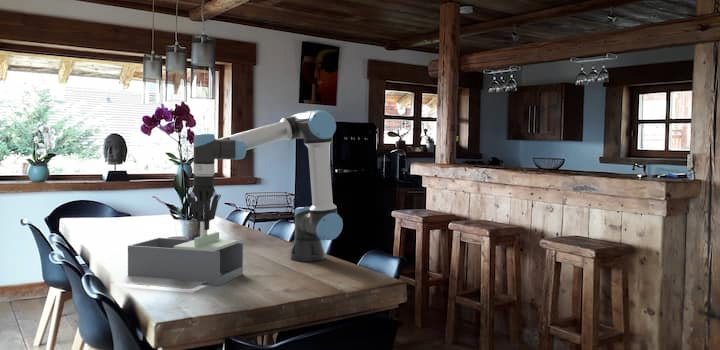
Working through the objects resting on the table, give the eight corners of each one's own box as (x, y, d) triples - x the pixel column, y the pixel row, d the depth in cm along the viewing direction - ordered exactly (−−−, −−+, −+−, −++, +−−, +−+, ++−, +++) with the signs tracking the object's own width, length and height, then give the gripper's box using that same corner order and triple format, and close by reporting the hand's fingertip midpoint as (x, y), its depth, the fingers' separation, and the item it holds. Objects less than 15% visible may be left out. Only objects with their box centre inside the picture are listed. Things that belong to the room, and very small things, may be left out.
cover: (238, 242, 226) (238, 232, 226) (214, 251, 207) (214, 240, 207) (200, 240, 230) (201, 230, 230) (173, 248, 211) (173, 237, 211)
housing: (242, 274, 227) (243, 243, 226) (218, 285, 208) (218, 251, 207) (158, 267, 235) (158, 237, 235) (127, 278, 216) (127, 245, 216)
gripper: (182, 175, 216) (182, 239, 217) (215, 176, 213) (214, 241, 214) (193, 174, 223) (193, 236, 224) (224, 175, 220) (224, 238, 221)
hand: (203, 238), depth 219 cm, fingers closed
